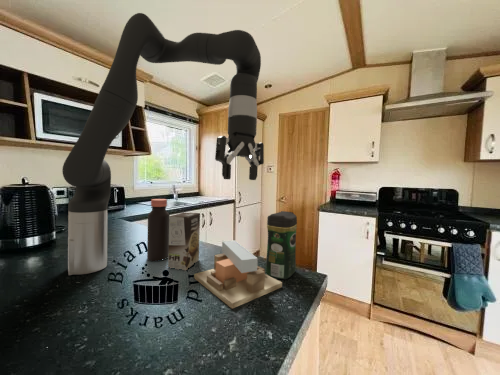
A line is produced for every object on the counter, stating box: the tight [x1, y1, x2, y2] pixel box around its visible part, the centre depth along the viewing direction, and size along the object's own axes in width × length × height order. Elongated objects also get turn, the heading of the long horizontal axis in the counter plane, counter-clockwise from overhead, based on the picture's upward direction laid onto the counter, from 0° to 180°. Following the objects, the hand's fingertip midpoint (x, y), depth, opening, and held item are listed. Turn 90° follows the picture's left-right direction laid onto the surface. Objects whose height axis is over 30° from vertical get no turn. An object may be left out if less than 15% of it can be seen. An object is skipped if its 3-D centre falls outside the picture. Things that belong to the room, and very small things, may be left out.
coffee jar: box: [265, 210, 298, 280], centre depth 66 cm, size 10×8×19 cm
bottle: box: [146, 198, 171, 262], centre depth 75 cm, size 7×7×20 cm
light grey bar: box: [221, 239, 259, 273], centre depth 59 cm, size 4×16×3 cm, turn 23°
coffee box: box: [167, 212, 201, 271], centre depth 71 cm, size 9×6×16 cm
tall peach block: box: [215, 259, 249, 287], centre depth 59 cm, size 11×4×5 cm, turn 130°
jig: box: [193, 252, 283, 310], centre depth 59 cm, size 16×18×5 cm
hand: (240, 179), depth 58 cm, fingers open, 8 cm apart
